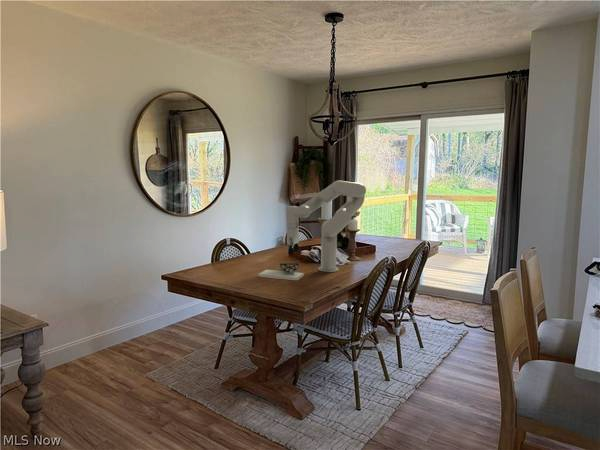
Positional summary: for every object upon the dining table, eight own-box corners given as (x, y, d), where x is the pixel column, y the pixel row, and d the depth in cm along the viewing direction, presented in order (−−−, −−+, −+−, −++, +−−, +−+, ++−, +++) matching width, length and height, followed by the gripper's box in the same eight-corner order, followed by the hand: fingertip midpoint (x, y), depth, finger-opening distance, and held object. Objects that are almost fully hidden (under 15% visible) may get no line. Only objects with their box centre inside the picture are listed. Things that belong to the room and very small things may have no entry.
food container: (278, 274, 246) (278, 273, 236) (278, 264, 247) (278, 263, 237) (299, 274, 247) (300, 273, 237) (299, 264, 248) (300, 263, 238)
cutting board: (266, 272, 249) (266, 269, 249) (303, 275, 241) (303, 273, 241) (258, 276, 238) (258, 274, 238) (297, 280, 230) (297, 277, 230)
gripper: (291, 224, 263) (292, 250, 265) (282, 227, 247) (283, 255, 249) (302, 224, 261) (303, 250, 263) (293, 227, 244) (294, 255, 246)
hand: (293, 252), depth 256 cm, fingers open, 9 cm apart
